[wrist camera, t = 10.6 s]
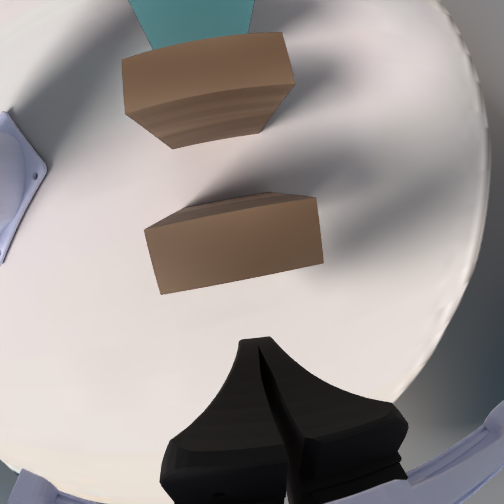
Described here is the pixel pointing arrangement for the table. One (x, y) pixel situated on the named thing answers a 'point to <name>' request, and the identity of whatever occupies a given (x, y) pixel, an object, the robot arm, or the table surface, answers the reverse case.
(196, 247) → the domino
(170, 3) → the domino
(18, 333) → the table surface
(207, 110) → the domino
